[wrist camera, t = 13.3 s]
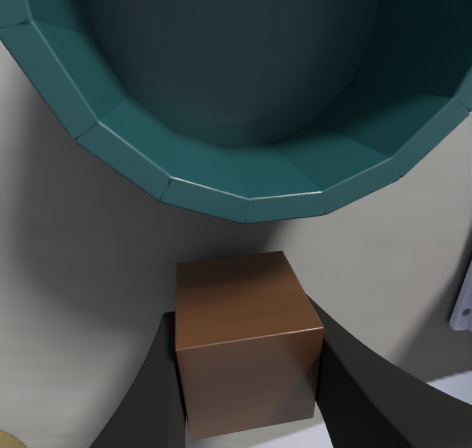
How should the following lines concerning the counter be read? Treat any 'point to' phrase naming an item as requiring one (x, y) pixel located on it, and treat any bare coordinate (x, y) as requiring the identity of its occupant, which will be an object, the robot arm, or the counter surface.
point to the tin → (250, 93)
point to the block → (245, 344)
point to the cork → (9, 441)
